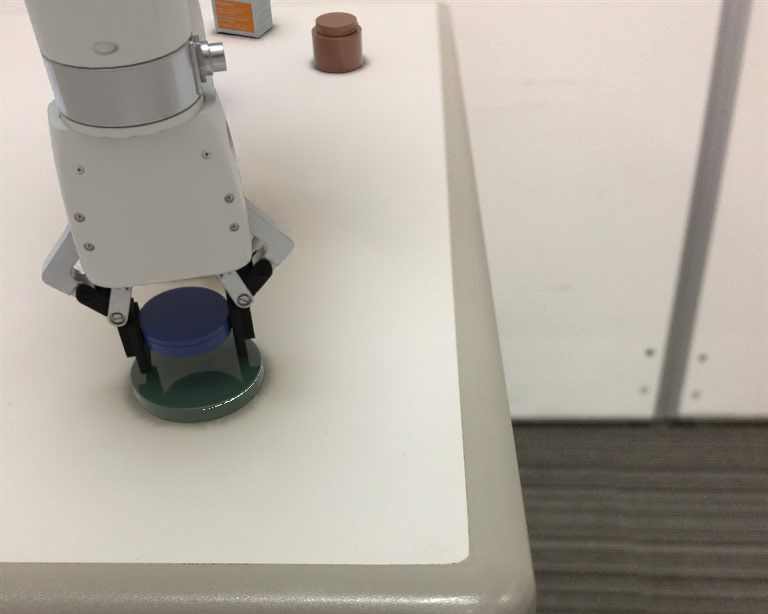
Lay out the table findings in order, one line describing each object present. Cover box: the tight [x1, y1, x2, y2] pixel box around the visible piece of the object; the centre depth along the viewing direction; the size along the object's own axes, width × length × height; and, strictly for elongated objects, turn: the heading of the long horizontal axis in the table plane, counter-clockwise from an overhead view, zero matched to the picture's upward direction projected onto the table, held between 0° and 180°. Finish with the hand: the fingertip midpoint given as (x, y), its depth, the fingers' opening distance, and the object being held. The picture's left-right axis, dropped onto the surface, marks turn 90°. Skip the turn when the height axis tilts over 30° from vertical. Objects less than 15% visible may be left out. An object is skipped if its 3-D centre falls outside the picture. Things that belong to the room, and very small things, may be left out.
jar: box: [311, 11, 364, 74], centre depth 92 cm, size 6×6×4 cm
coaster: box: [129, 330, 265, 423], centre depth 57 cm, size 9×9×1 cm
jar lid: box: [139, 286, 232, 358], centre depth 54 cm, size 6×6×1 cm
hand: (193, 351), depth 56 cm, fingers closed on jar lid, 5 cm apart
